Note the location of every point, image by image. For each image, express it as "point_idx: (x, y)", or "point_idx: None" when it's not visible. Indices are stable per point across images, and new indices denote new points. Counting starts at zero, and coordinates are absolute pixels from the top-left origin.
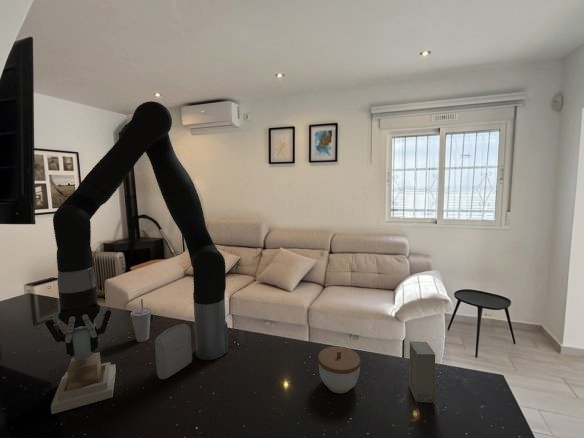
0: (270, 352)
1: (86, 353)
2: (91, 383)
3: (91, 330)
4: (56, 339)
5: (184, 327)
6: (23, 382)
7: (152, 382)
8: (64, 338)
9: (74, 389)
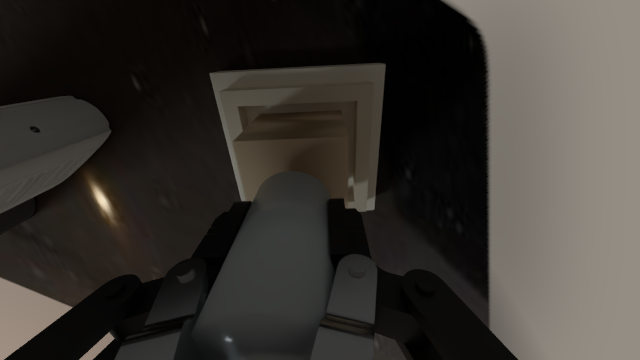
0: None
1: (266, 188)
2: (276, 117)
3: (173, 318)
4: (442, 292)
5: None
6: (455, 237)
7: (116, 99)
8: (384, 294)
9: (322, 99)
